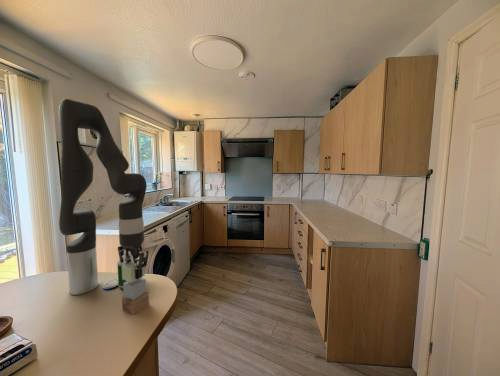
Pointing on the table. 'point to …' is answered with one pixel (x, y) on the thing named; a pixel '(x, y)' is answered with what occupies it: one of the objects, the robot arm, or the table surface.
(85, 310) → the table surface
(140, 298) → the walnut block
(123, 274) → the sage cube
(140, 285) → the slate cube
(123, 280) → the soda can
